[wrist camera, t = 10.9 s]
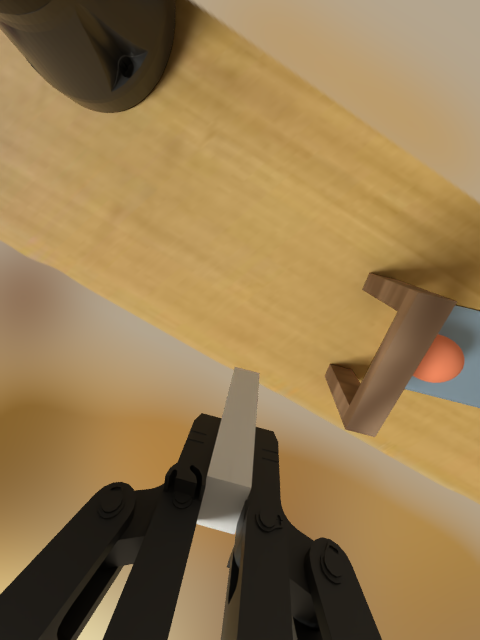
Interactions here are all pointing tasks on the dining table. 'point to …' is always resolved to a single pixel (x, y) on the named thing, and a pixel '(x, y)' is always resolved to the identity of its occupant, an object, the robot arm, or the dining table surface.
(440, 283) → the dining table surface
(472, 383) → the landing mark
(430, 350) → the ball
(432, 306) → the bridge
